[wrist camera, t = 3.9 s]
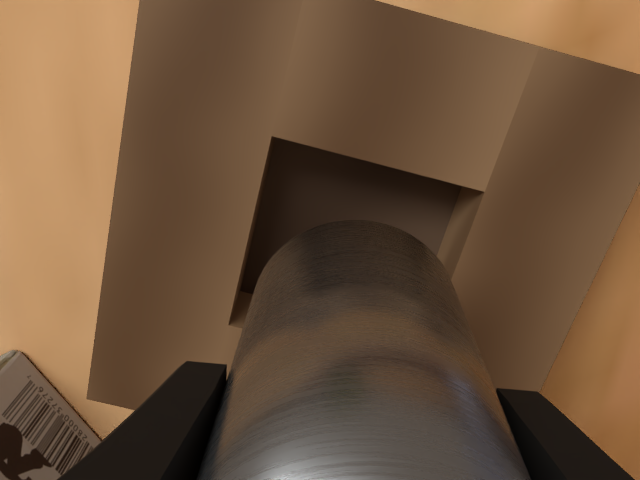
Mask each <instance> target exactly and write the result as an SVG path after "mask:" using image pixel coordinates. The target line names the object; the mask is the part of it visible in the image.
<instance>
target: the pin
mask: <svg viewBox="0 0 640 480" xmlns="http://www.w3.org/2000/svg"><path fill="white" fill-rule="evenodd" d="M196 480H531V478H530V475H529V473H528V470H527V468H526V465H525V463H524V460H523V458H522V455H521V453H520V450H519V448H518V445H517V443H516V440H515V438H514V435H513V433H512V431H511V428H510V426H509V423H508V421H507V418H506V416H505V413H504V411H503V408H502V406H501V403H500V401H499V398H498V396H497V393H496V391H495V388H494V386H493V383H492V381H491V378H490V376H489V373H488V371H487V368H486V366H485V363H484V361H483V358H482V356H481V353H480V351H479V348H478V346H477V343H476V341H475V338H474V336H473V333H472V331H471V328H470V326H469V323H468V321H467V318H466V316H465V314H464V311H463V309H462V306H461V304H460V301H459V299H458V296H457V294H456V291H455V289H454V286H453V284H452V281H451V279H450V277H449V274H448V272H447V271H446V269H445V267H444V266H443V264H442V262H441V261H440V260H439V259H438V257H437V256H436V255H435V254H434V253H433V251H431V250H430V249H429V248H428V247H427V246H426V245H425V244H424V243H422V242H421V241H420V240H418V239H417V238H415V237H414V236H412V235H411V234H409V233H407V232H405V231H403V230H401V229H398V228H396V227H393V226H390V225H387V224H383V223H379V222H374V221H366V220H342V221H336V222H330V223H326V224H323V225H319V226H316V227H314V228H311V229H309V230H307V231H304V232H302V233H301V234H299V235H297V236H296V237H294V238H292V239H291V240H290V241H288V242H287V243H286V244H284V245H283V246H282V247H281V248H280V249H279V250H278V251H277V252H276V253H275V254H274V255H273V256H272V257H271V259H270V260H269V261H268V263H267V264H266V266H265V267H264V269H263V271H262V273H261V275H260V276H259V279H258V281H257V284H256V287H255V290H254V293H253V296H252V300H251V303H250V306H249V309H248V313H247V316H246V319H245V322H244V326H243V329H242V332H241V335H240V339H239V342H238V345H237V348H236V352H235V355H234V358H233V361H232V365H231V368H230V371H229V374H228V378H227V381H226V384H225V388H224V391H223V394H222V397H221V401H220V404H219V407H218V410H217V414H216V417H215V420H214V423H213V427H212V430H211V433H210V436H209V440H208V443H207V446H206V449H205V453H204V456H203V459H202V462H201V466H200V469H199V472H198V475H197V479H196Z"/></svg>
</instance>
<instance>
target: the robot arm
mask: <svg viewBox="0 0 640 480" xmlns="http://www.w3.org/2000/svg"><path fill="white" fill-rule="evenodd" d="M226 379H227V364H217V363H205V362H194V361H186V362H185V363H183V364H182V365H181V366H179V367H178V368H177V369H176V370H175V371H174V372H173V373H172V374H171V375H170V376H169V377H168V378H167V379H166V380H165V381H164V382H163V383H162V384H161V385H160V386H159V387H158V389H156V390H155V391H154V392H153V393H152V394H151V395H150V396H149V397H148V398H147V399H146V400H145V401H144V402H143V403H142V404H141V405H140V406H139V407H138V408H137V409H136V410H135V411H134V412H133V413H132V414H131V415H130V416H129V417H128V418H127V419H125V420H124V421H123V422H122V423H121V424H120V425H119V426H118V427H117V428H116V429H115V430H113V431H112V432H111V433H110V434H109V435H108V436H107V437H106V438H105V439H104V440H103V441H101V442H100V443H99V444H98V445H97V446H96V447H95V448H94V449H93V450H91V451H90V452H89V453H88V454H87V455H86V456H85V457H83V458H82V459H81V460H80V461H79V462H77V463H76V464H75V465H74V466H73V467H71V468H70V469H69V470H68V471H66V472H65V473H64V474H63V475H62V476H60V477H59V478H58V479H57V480H196V479H197V475H198V472H199V469H200V466H201V462H202V459H203V456H204V453H205V449H206V446H207V443H208V440H209V436H210V433H211V430H212V427H213V423H214V420H215V417H216V414H217V410H218V407H219V404H220V401H221V397H222V394H223V391H224V388H225V384H226ZM496 393H497V396H498V398H499V401H500V403H501V406H502V408H503V411H504V413H505V416H506V418H507V421H508V423H509V426H510V428H511V431H512V433H513V435H514V438H515V440H516V443H517V445H518V448H519V450H520V453H521V455H522V458H523V460H524V463H525V465H526V468H527V470H528V473H529V475H530V478H531V480H634V479H633V478H632V477H631V476H630V475H629V474H628V473H627V472H625V471H624V470H623V469H622V468H621V467H620V466H619V465H618V464H617V463H616V462H614V461H613V460H612V459H611V458H610V457H609V456H608V455H607V454H606V453H605V452H604V451H603V450H601V449H600V448H599V447H598V446H597V445H596V444H595V443H594V442H593V441H592V440H591V439H590V438H589V437H587V436H586V435H585V434H584V433H583V432H582V431H581V430H580V429H579V428H578V427H577V426H576V425H575V424H573V423H572V422H571V421H570V420H569V419H568V418H567V417H566V416H565V415H564V414H563V413H562V412H560V411H559V410H558V409H557V408H556V407H555V406H554V405H553V404H552V403H550V402H549V401H548V400H547V399H546V398H545V397H543V396H542V395H541V394H540V393H539V392H537V391H526V390H515V389H503V388H497V389H496Z"/></svg>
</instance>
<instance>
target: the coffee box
mask: <svg viewBox="0 0 640 480" xmlns="http://www.w3.org/2000/svg"><path fill="white" fill-rule="evenodd" d="M100 442H101V440H100V439H99V438H98V437H97V436H96V435H95V434H94V433H93V431H92V430H91V429H90V428H89V427H88V426H87V425H86V423H85V422H84V421H83V420H82V419H81V418H80V417H79V416H78V415H77V413H76V412H75V411H74V410H73V409H72V408H71V407H70V406H69V404H68V403H67V402H66V401H65V400H64V399H63V398H62V397H61V396H60V394H59V393H58V392H57V391H56V390H55V389H54V388H53V387H52V386H51V384H50V383H49V382H48V381H47V380H46V379H45V378H44V377H43V375H42V374H41V373H40V372H39V371H38V370H37V369H36V368H35V367H34V366H33V364H32V363H31V362H30V361H29V360H28V359H27V358H26V357H25V356H24V355H23V353H21V352H20V351H15V350H12V351H9V352H7V353H5V354H3V355H2V356H0V480H57V479H58V478H59V477H60V476H62V475H63V474H64V473H65V472H66V471H68V470H69V469H70V468H71V467H73V466H74V465H75V464H76V463H77V462H79V461H80V460H81V459H82V458H83V457H85V456H86V455H87V454H88V453H89V452H90V451H91V450H93V449H94V448H95V447H96V446H97V445H98V444H99V443H100Z"/></svg>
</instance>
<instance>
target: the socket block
mask: <svg viewBox="0 0 640 480" xmlns="http://www.w3.org/2000/svg"><path fill="white" fill-rule="evenodd" d="M639 184H640V74H636V73H633V72H629V71H625V70H622V69H618V68H615V67H611V66H608V65H604V64H600V63H597V62H593V61H590V60H586V59H583V58H579V57H575V56H572V55H568V54H565V53H561V52H558V51H554V50H550V49H547V48H543V47H540V46H536V45H533V44H529V43H525V42H522V41H518V40H515V39H511V38H508V37H504V36H500V35H497V34H493V33H490V32H486V31H483V30H479V29H475V28H472V27H468V26H465V25H461V24H458V23H454V22H450V21H447V20H443V19H440V18H436V17H433V16H429V15H425V14H422V13H418V12H415V11H411V10H408V9H404V8H400V7H397V6H393V5H390V4H386V3H382V2H379V1H375V0H140V1H139V9H138V16H137V24H136V31H135V39H134V46H133V54H132V61H131V69H130V76H129V84H128V91H127V99H126V106H125V114H124V121H123V129H122V136H121V144H120V151H119V159H118V167H117V174H116V182H115V189H114V197H113V204H112V212H111V219H110V227H109V234H108V242H107V249H106V257H105V264H104V272H103V279H102V287H101V294H100V302H99V309H98V317H97V324H96V332H95V339H94V347H93V354H92V362H91V369H90V377H89V384H88V392H87V399H89V400H93V401H97V402H102V403H106V404H111V405H115V406H119V407H124V408H128V409H133V410H136V409H137V408H138V407H139V406H140V405H141V404H142V403H143V402H144V401H145V400H146V399H147V398H148V397H149V396H150V395H151V394H152V393H153V392H154V391H155V390H156V389H158V387H159V386H160V385H161V384H162V383H163V382H164V381H165V380H166V379H167V378H168V377H169V376H170V375H171V374H172V373H173V372H174V371H175V370H176V369H177V368H178V367H179V366H181V365H182V364H183V363H185V362H186V361H194V362H205V363H217V364H227V378H228V374H229V371H230V368H231V365H232V361H233V358H234V355H235V352H236V348H237V345H238V342H239V339H240V335H241V332H242V329H243V326H244V322H245V319H246V316H247V313H248V309H249V306H250V303H251V300H252V296H253V293H254V290H255V287H256V284H257V281H258V279H259V276H260V275H261V273H262V271H263V269H264V267H265V266H266V264H267V263H268V261H269V260H270V259H271V257H272V256H273V255H274V254H275V253H276V252H277V251H278V250H279V249H280V248H281V247H282V246H283V245H284V244H286V243H287V242H288V241H290V240H291V239H292V238H294V237H296V236H297V235H299V234H301V233H302V232H304V231H307V230H309V229H311V228H314V227H316V226H319V225H323V224H326V223H330V222H336V221H342V220H366V221H374V222H379V223H383V224H387V225H390V226H393V227H396V228H398V229H401V230H403V231H405V232H407V233H409V234H411V235H412V236H414V237H415V238H417V239H418V240H420V241H421V242H422V243H424V244H425V245H426V246H427V247H428V248H429V249H430V250H431V251H433V253H434V254H435V255H436V256H437V257H438V259H439V260H440V261H441V262H442V264H443V266H444V267H445V269H446V271H447V272H448V274H449V277H450V279H451V281H452V284H453V286H454V289H455V291H456V294H457V296H458V299H459V301H460V304H461V306H462V309H463V311H464V314H465V316H466V318H467V321H468V323H469V326H470V328H471V331H472V333H473V336H474V338H475V341H476V343H477V346H478V348H479V351H480V353H481V356H482V358H483V361H484V363H485V366H486V368H487V371H488V373H489V376H490V378H491V381H492V383H493V386H494V388H495V391H496V389H497V388H503V389H515V390H526V391H537V392H540V390H541V388H542V386H543V384H544V382H545V380H546V378H547V375H548V373H549V371H550V369H551V367H552V365H553V363H554V361H555V359H556V357H557V355H558V352H559V350H560V348H561V346H562V344H563V342H564V340H565V338H566V336H567V334H568V332H569V330H570V327H571V325H572V323H573V321H574V319H575V317H576V315H577V313H578V311H579V309H580V307H581V305H582V302H583V300H584V298H585V296H586V294H587V292H588V290H589V288H590V286H591V284H592V282H593V279H594V277H595V275H596V273H597V271H598V269H599V267H600V265H601V263H602V261H603V259H604V257H605V254H606V252H607V250H608V248H609V246H610V244H611V242H612V240H613V238H614V236H615V234H616V231H617V229H618V227H619V225H620V223H621V221H622V219H623V217H624V215H625V213H626V211H627V209H628V206H629V204H630V202H631V200H632V198H633V196H634V194H635V192H636V190H637V188H638V186H639ZM226 381H227V379H226Z"/></svg>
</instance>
